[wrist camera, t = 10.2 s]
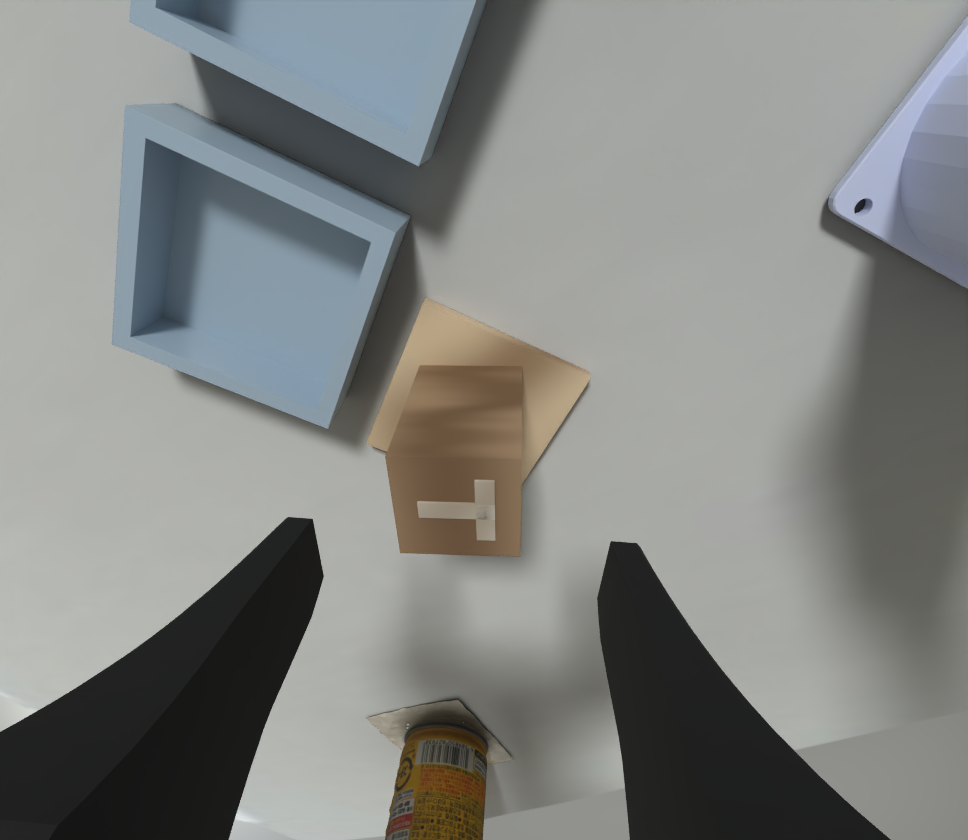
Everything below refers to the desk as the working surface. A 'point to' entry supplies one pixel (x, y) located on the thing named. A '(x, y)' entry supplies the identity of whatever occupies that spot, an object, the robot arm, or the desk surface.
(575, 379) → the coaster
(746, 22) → the desk surface
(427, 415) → the letter block
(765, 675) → the desk surface
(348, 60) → the dish
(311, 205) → the dish
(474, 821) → the condiment
